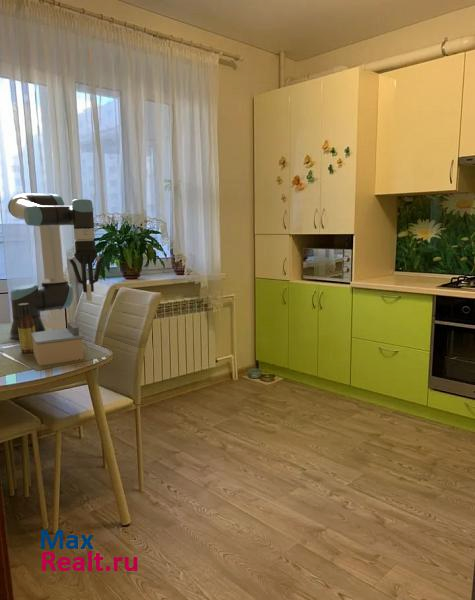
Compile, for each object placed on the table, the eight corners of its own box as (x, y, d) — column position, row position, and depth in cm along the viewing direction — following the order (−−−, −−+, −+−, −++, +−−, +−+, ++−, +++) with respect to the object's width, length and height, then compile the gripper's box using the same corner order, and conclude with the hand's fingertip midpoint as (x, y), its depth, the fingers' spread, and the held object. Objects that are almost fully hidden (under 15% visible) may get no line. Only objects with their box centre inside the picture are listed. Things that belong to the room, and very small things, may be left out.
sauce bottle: (31, 348, 196) (26, 301, 192) (40, 350, 193) (36, 302, 189) (16, 352, 190) (12, 304, 187) (26, 354, 187) (22, 305, 184)
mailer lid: (30, 334, 185) (29, 325, 184) (75, 329, 193) (74, 320, 192) (36, 344, 170) (35, 334, 170) (83, 337, 178) (83, 328, 178)
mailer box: (33, 355, 186) (32, 335, 185) (75, 349, 194) (74, 330, 192) (39, 365, 172) (37, 344, 171) (84, 358, 180) (82, 338, 179)
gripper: (69, 241, 175) (73, 303, 179) (104, 239, 182) (108, 300, 185) (65, 240, 182) (70, 300, 186) (99, 239, 188) (103, 297, 192)
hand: (89, 300), depth 185 cm, fingers closed
